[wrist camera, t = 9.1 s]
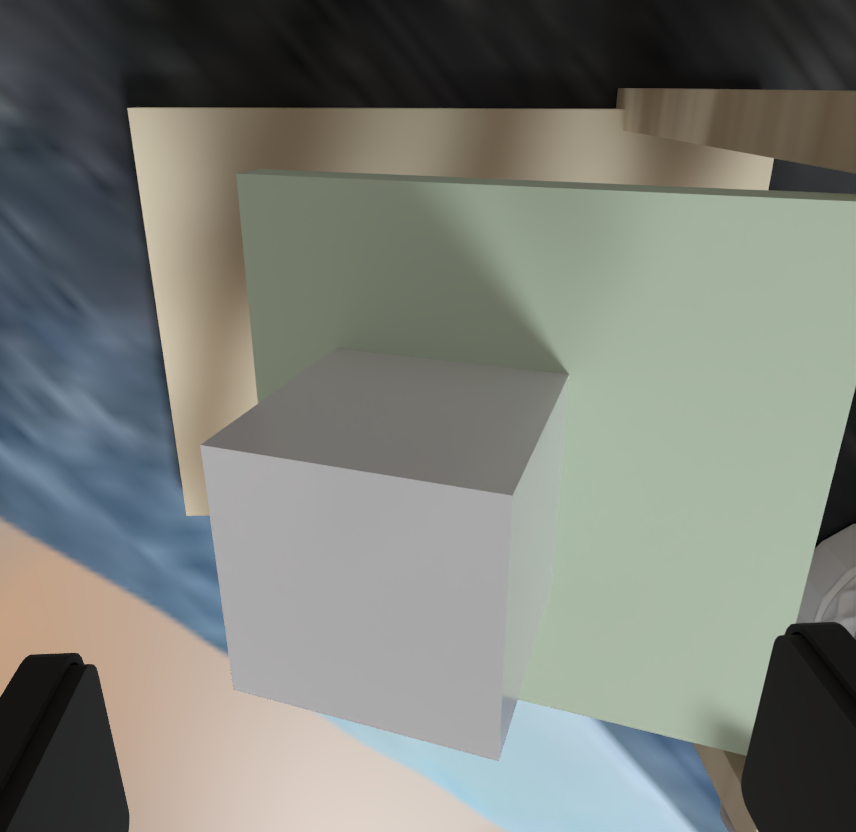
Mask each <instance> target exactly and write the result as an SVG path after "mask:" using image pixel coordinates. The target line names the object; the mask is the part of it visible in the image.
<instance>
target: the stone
mask: <svg viewBox="0 0 856 832" xmlns="http://www.w3.org/2000/svg"><path fill="white" fill-rule="evenodd" d="M568 382H569V374H561V373H552V372H543V371H534V370H525V369H516V368H507V367H498V366H490V365H481V364H472V363H463V362H454V361H445V360H436V359H427V358H418V357H409V356H400V355H391V354H382V353H374V352H365V351H356V350H347V349H338V348H335V349H334V350H333V351H331V352H330V353H328V354H327V355H326V356H324V357H323V358H321V359H320V360H319V361H317V362H316V363H314V364H313V365H312V366H310V367H309V368H307V369H306V370H305V371H303V372H302V373H300V374H299V375H298V376H296V377H295V378H293V379H292V380H291V381H289V382H288V383H286V384H285V385H284V386H282V387H281V388H279V389H278V390H277V391H275V392H274V393H272V394H271V395H270V396H268V397H267V398H265V399H264V400H263V401H261V402H260V403H258V404H257V405H256V406H254V407H253V408H251V409H250V410H249V411H247V412H246V413H244V414H243V415H242V416H240V417H239V418H237V419H236V420H235V421H233V422H232V423H230V424H229V425H227V426H226V427H225V428H223V429H222V430H220V431H219V432H218V433H216V434H215V435H213V436H212V437H211V438H209V439H208V440H206V441H205V442H204V443H202V444H201V445H200V447H201V454H202V461H203V469H204V476H205V484H206V491H207V498H208V506H209V513H210V520H211V528H212V535H213V542H214V550H215V557H216V564H217V572H218V579H219V587H220V594H221V601H222V609H223V616H224V623H225V631H226V638H227V645H228V653H229V660H230V668H231V675H232V682H233V689H234V690H237V691H241V692H244V693H248V694H252V695H256V696H259V697H263V698H267V699H270V700H274V701H278V702H282V703H285V704H289V705H292V706H296V707H300V708H304V709H307V710H311V711H315V712H318V713H322V714H326V715H330V716H333V717H337V718H341V719H344V720H348V721H352V722H356V723H359V724H363V725H367V726H370V727H374V728H378V729H382V730H385V731H389V732H393V733H396V734H400V735H404V736H408V737H411V738H415V739H419V740H422V741H426V742H430V743H434V744H437V745H441V746H445V747H448V748H452V749H456V750H460V751H463V752H467V753H471V754H474V755H478V756H482V757H485V758H489V759H493V760H497V761H499V759H500V755H501V752H502V749H503V745H504V742H505V739H506V736H507V732H508V729H509V726H510V722H511V719H512V716H513V712H514V709H515V706H516V703H517V699H518V696H519V693H520V689H521V686H522V683H523V679H524V676H525V673H526V670H527V666H528V663H529V660H530V656H531V653H532V650H533V646H534V643H535V640H536V637H537V633H538V630H539V627H540V623H541V620H542V617H543V614H544V610H545V607H546V604H547V600H548V597H549V594H550V590H551V587H552V580H553V567H554V555H555V543H556V530H557V518H558V506H559V493H560V481H561V469H562V456H563V444H564V432H565V419H566V407H567V395H568Z"/></svg>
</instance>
